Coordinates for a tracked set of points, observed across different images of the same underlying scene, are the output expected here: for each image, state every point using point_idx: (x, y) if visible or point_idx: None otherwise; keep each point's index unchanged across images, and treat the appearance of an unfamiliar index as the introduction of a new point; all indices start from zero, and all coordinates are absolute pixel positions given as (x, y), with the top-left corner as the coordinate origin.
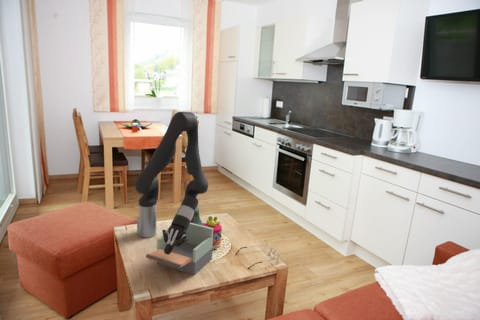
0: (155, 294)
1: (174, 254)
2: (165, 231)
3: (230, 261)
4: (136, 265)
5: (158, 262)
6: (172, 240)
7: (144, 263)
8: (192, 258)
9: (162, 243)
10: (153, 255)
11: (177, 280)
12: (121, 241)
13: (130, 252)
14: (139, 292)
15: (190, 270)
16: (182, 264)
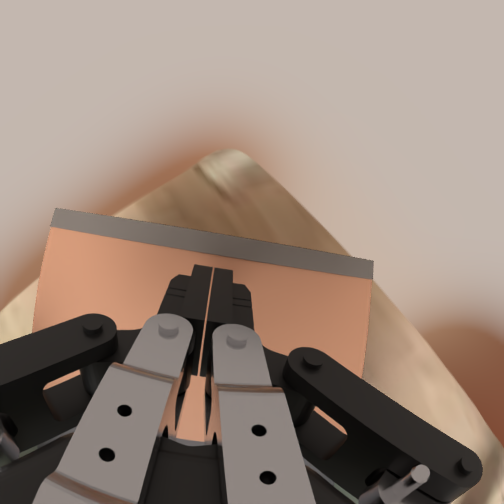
0: (181, 175)
1: (184, 413)
2: (433, 491)
3: None
4: (391, 347)
5: None
6: (165, 371)
7: (373, 382)
8: (59, 436)
9: None
10: (325, 279)
11: None
12: (498, 443)
13: (456, 415)
14: (251, 170)
15: None
16: (49, 248)
